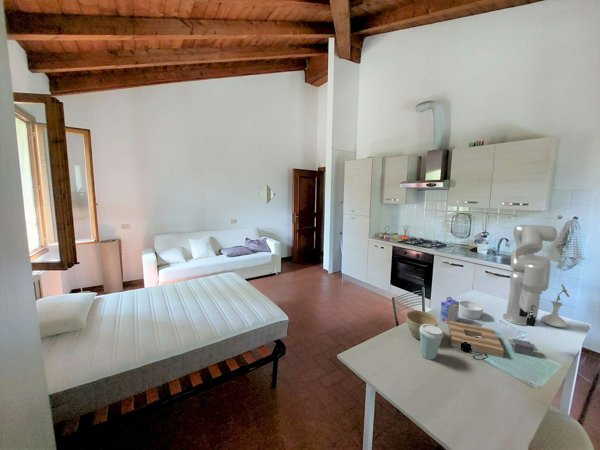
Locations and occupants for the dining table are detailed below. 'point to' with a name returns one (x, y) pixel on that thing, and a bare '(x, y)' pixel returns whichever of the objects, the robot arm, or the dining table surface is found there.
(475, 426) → the dining table surface
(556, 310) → the flower in vase
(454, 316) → the ink cartridge box
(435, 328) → the disposable coffee cup
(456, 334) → the wooden board
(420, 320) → the planter bowl
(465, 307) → the ramekin
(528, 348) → the flanged block
